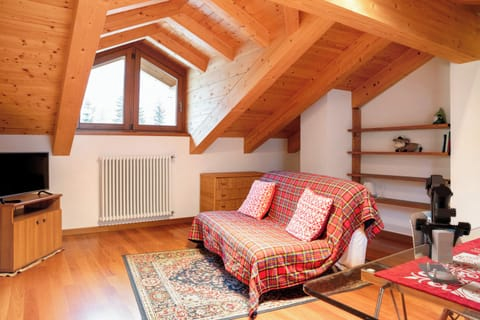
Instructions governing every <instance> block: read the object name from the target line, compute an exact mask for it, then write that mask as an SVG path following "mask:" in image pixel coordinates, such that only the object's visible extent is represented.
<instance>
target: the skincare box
mask: <svg viewBox="0 0 480 320" xmlns="http://www.w3.org/2000/svg"><path fill="white" fill-rule="evenodd" d="M453 239H454V232H453V231H452V230H448V229H446V230H432V242H433V244H432V259H431V260H432V261H433V262H434V263H436V264H453V263H454V247H453Z"/></svg>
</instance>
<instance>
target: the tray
mask: <svg viewBox="0 0 480 320" xmlns="http://www.w3.org/2000/svg"><path fill="white" fill-rule="evenodd" d="M417 266H418V267H419V268H420V269H421V270H422V272H423V271H424V272H425V273H426V274H425V273H424V272H423V273H424V274H425V275H426V276H427V277H428V279H430V281H431V282H432V281H433V283H440V282H441V283H442V284H453V285H454V284H456V285H460V280H459V279H458V274H459V270H456V269H454V275H453V273H451V263H446V267H445V266H444V265H442V264H441V263H436V264H435V263H430V262H429V261H428V262H427V263H425V262H424V263H421V262H418V265H417Z"/></svg>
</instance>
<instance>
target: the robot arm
mask: <svg viewBox="0 0 480 320" xmlns="http://www.w3.org/2000/svg"><path fill="white" fill-rule="evenodd" d="M424 190H425V191H426V195H427V196H428V198H429V199H430V201H429V202H430V221H429V220H428V219H427V218H420V217H417V218H415V222H414V223H415V224H414V230H415V231H417V232H421V233H422V234H424V236H425V237H424V238H425V239H424V240H425V245H428V253H425V256H426V257H428V259H430V260H432V244H433V242H432V230H449V231H454V232H453V233H454V238H453V249H454V248H455V247H456V245H457V242H458V240H459V239H460V238H462V237H463V236H467V237H468V236H470V233H471V230H472V225H471V223H470V222H468V221H458V222H457V224H451V222H452V218H456V217H457V208H453V207H450V206H449V205H450V202H451V198H452V197H453V196H454V192H453V191H452V189H451V188H450V187H449V186H448V185H447V184H446V179H444V178H443V175H441V174H430V176H429V177H428V178H426V179H425V183H424Z"/></svg>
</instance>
